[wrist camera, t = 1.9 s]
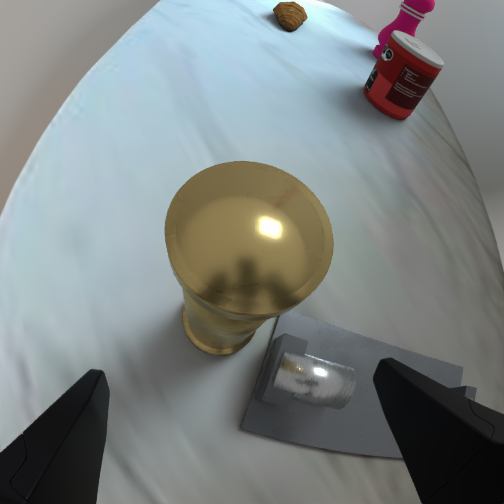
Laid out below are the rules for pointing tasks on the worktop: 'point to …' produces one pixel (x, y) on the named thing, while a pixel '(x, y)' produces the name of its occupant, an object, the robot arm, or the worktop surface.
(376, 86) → the canned food
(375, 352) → the shaft bed
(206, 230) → the gold flanged cylinder
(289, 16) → the croissant
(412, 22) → the pepper mill
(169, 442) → the worktop surface
